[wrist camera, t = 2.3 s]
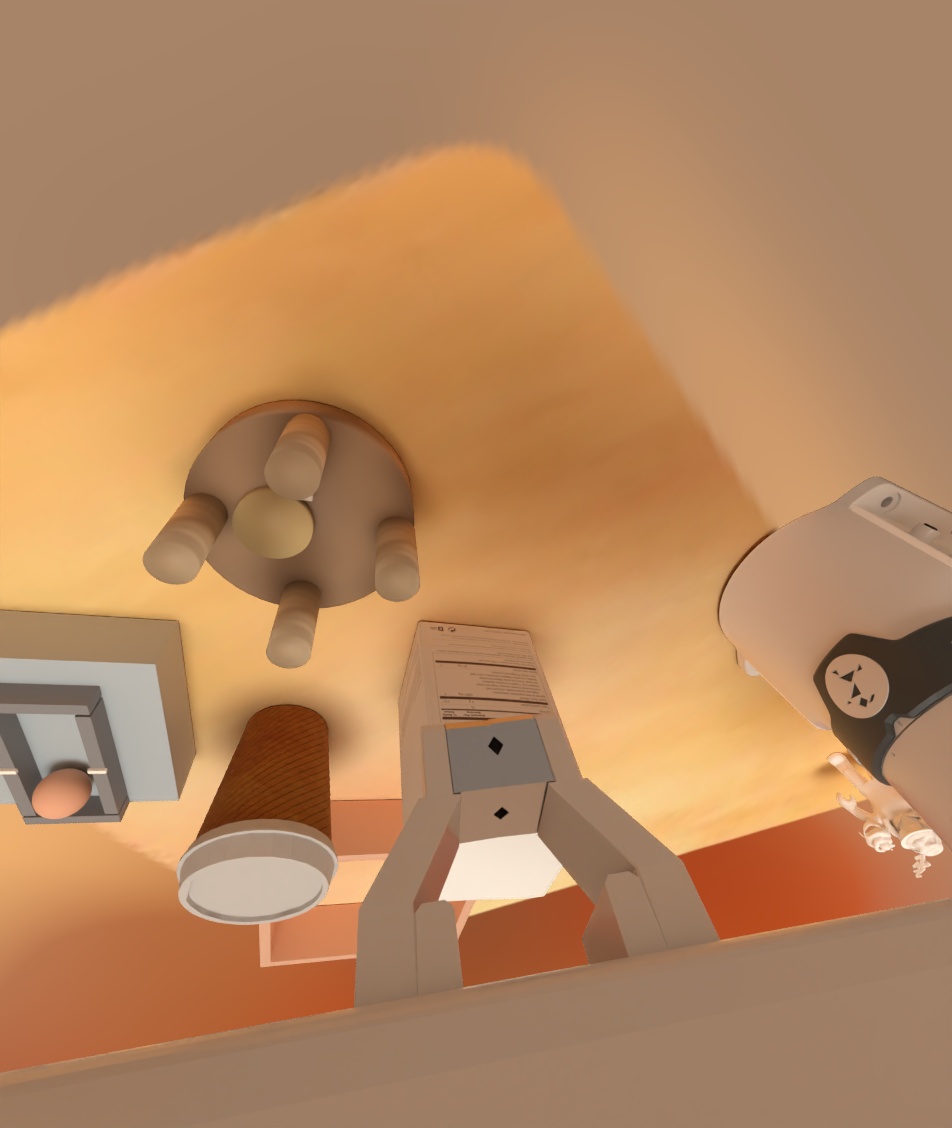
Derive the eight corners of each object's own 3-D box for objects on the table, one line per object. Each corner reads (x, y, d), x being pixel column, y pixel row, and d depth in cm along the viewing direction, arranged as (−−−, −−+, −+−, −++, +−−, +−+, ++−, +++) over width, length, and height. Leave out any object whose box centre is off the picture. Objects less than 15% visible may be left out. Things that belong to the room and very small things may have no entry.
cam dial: (428, 419, 27) (441, 472, 21) (399, 593, 34) (402, 673, 28) (187, 378, 24) (120, 425, 18) (204, 577, 31) (160, 662, 25)
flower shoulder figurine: (816, 777, 58) (904, 888, 48) (803, 767, 56) (892, 880, 46) (888, 736, 55) (997, 844, 45) (877, 723, 53) (988, 834, 44)
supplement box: (499, 708, 42) (546, 901, 30) (396, 702, 40) (401, 909, 28) (532, 629, 38) (603, 818, 26) (418, 616, 35) (435, 819, 23)
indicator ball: (96, 758, 33) (72, 801, 30) (104, 785, 34) (82, 827, 32) (43, 758, 32) (14, 802, 30) (53, 786, 34) (27, 829, 31)
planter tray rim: (489, 797, 50) (498, 848, 46) (449, 900, 61) (453, 948, 57) (268, 802, 45) (256, 859, 41) (269, 913, 56) (260, 967, 52)
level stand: (178, 621, 32) (143, 685, 28) (195, 753, 40) (170, 823, 35) (-44, 607, 30) (-124, 677, 25) (19, 753, 37) (-34, 829, 32)
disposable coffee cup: (283, 671, 36) (245, 833, 26) (372, 728, 41) (368, 882, 31) (197, 732, 38) (132, 904, 29) (291, 780, 43) (264, 939, 34)
